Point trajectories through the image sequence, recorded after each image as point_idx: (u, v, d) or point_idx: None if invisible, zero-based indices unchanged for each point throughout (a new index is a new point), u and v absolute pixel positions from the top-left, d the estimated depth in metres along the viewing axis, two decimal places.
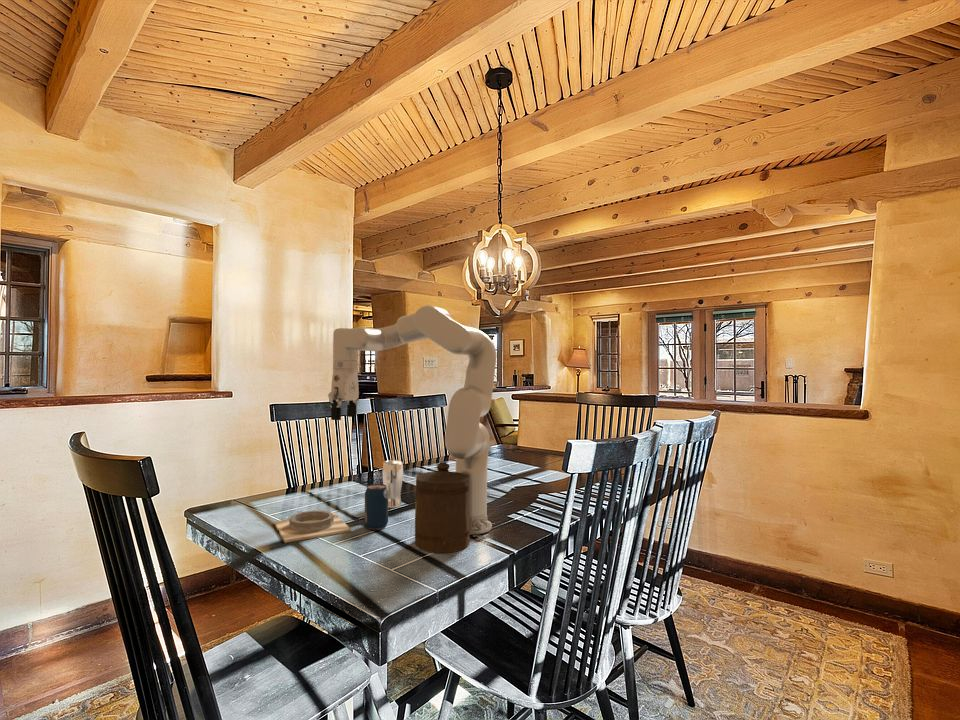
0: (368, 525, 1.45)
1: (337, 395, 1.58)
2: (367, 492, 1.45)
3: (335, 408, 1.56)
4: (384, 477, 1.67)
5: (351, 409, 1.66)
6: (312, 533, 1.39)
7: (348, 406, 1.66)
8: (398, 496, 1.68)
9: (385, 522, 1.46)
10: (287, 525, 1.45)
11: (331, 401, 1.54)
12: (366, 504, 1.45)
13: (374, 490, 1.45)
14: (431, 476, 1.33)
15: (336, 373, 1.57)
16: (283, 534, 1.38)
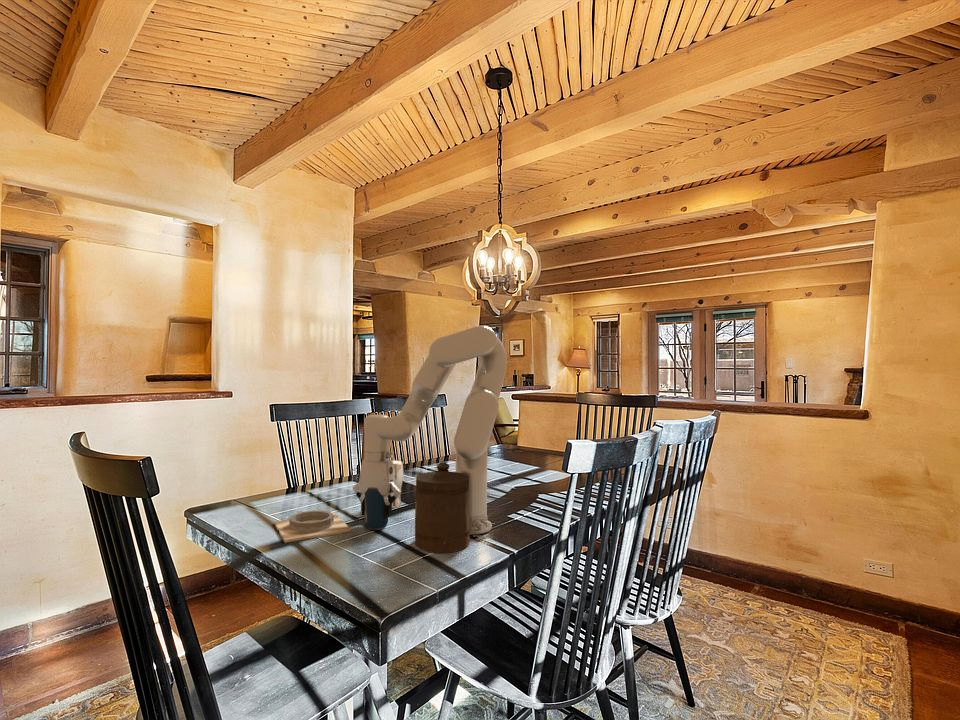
0: (368, 525, 1.45)
1: None
2: (367, 492, 1.45)
3: (390, 505, 1.46)
4: None
5: None
6: (312, 533, 1.39)
7: (364, 503, 1.48)
8: (398, 496, 1.68)
9: (385, 522, 1.46)
10: (287, 525, 1.45)
11: (396, 498, 1.46)
12: (366, 504, 1.45)
13: (374, 490, 1.45)
14: (431, 476, 1.33)
15: (389, 465, 1.46)
16: (283, 534, 1.38)
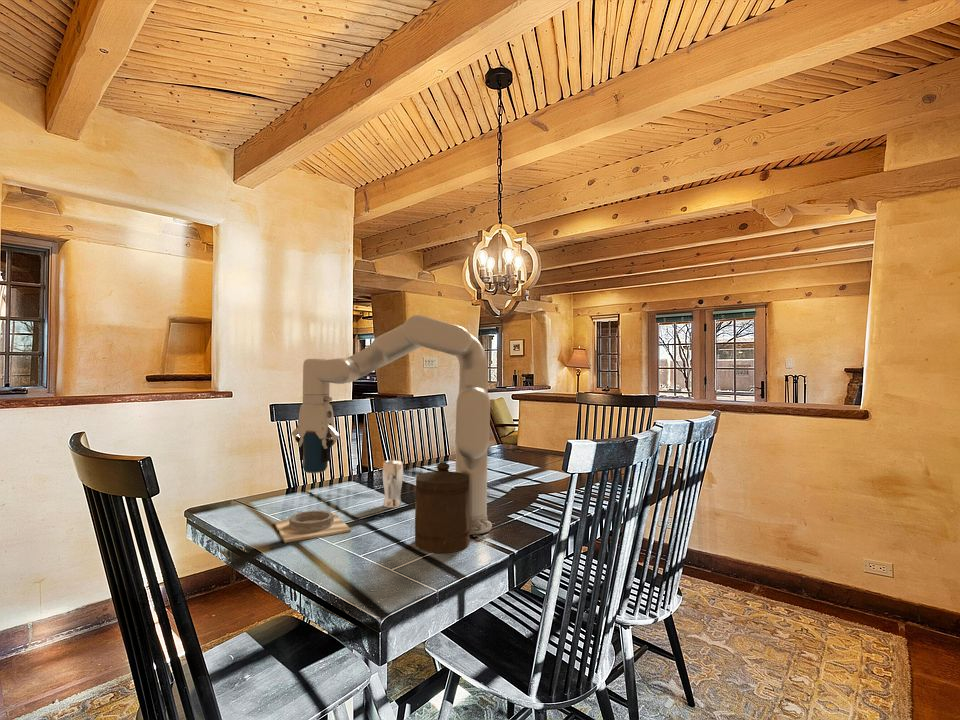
0: (306, 468, 1.43)
1: None
2: (305, 435, 1.44)
3: (329, 449, 1.45)
4: (384, 477, 1.67)
5: None
6: (312, 533, 1.39)
7: None
8: (398, 496, 1.68)
9: (323, 466, 1.44)
10: (287, 525, 1.45)
11: (334, 441, 1.44)
12: (304, 447, 1.44)
13: (312, 433, 1.43)
14: (431, 476, 1.33)
15: (328, 408, 1.44)
16: (283, 534, 1.38)
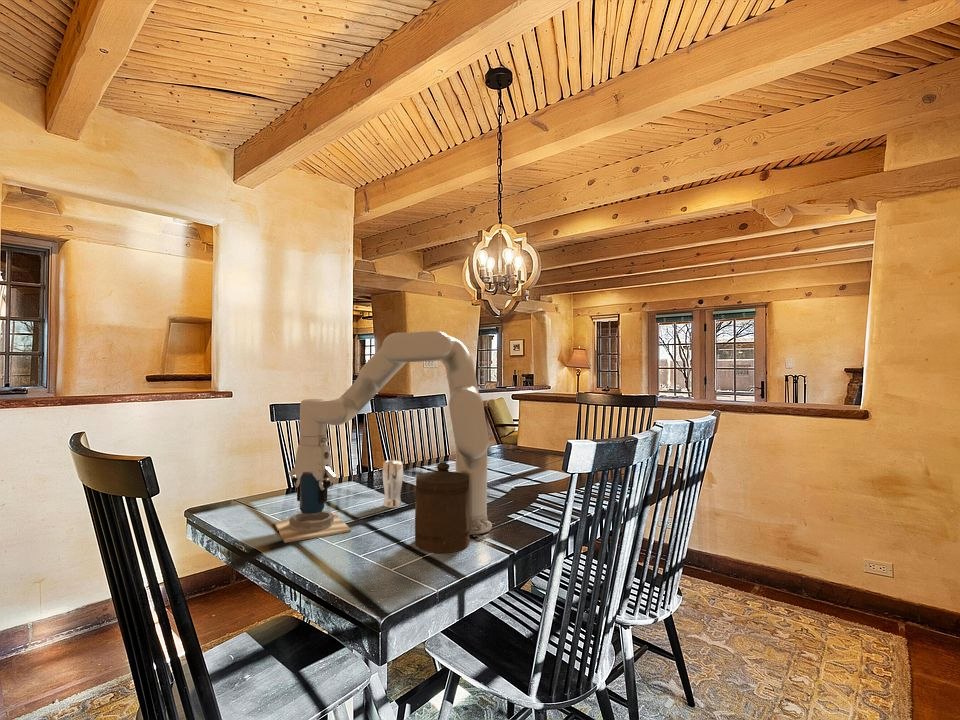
0: (302, 510, 1.43)
1: None
2: (302, 477, 1.44)
3: (326, 490, 1.45)
4: (384, 477, 1.67)
5: None
6: (312, 533, 1.39)
7: None
8: (398, 496, 1.68)
9: (320, 507, 1.44)
10: (287, 525, 1.45)
11: (331, 483, 1.44)
12: (301, 489, 1.43)
13: (309, 475, 1.43)
14: (431, 476, 1.33)
15: (325, 450, 1.44)
16: (283, 534, 1.38)
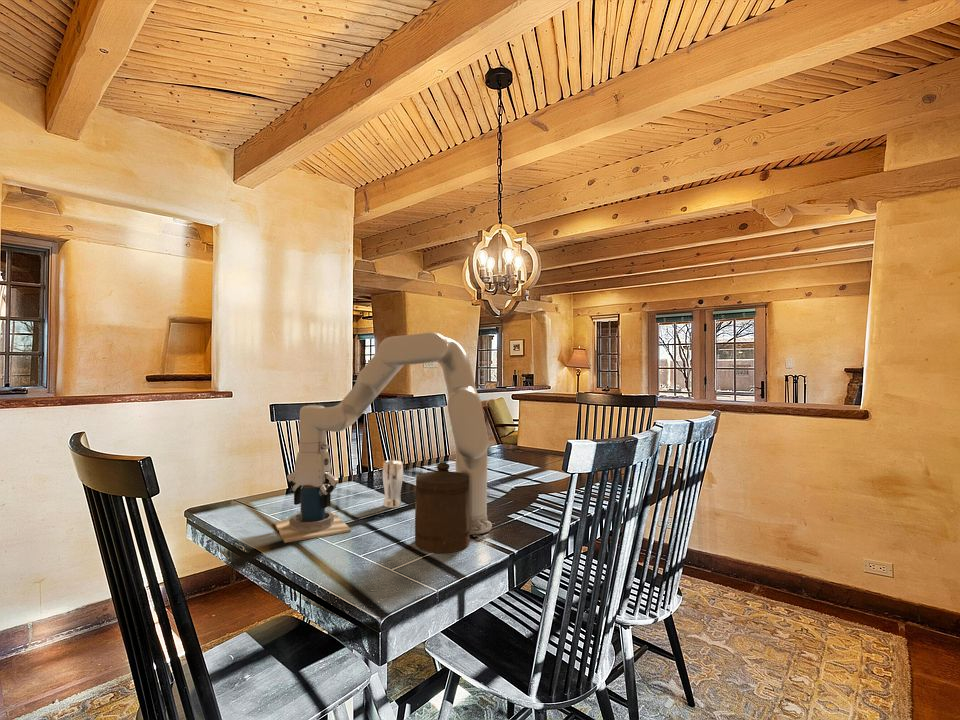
0: None
1: None
2: (302, 490, 1.44)
3: (329, 494, 1.44)
4: (384, 477, 1.67)
5: (299, 495, 1.47)
6: (312, 533, 1.39)
7: (297, 493, 1.46)
8: (398, 496, 1.68)
9: None
10: (287, 525, 1.45)
11: (334, 487, 1.43)
12: (301, 502, 1.43)
13: (309, 488, 1.43)
14: (431, 476, 1.33)
15: (325, 456, 1.44)
16: (283, 534, 1.38)
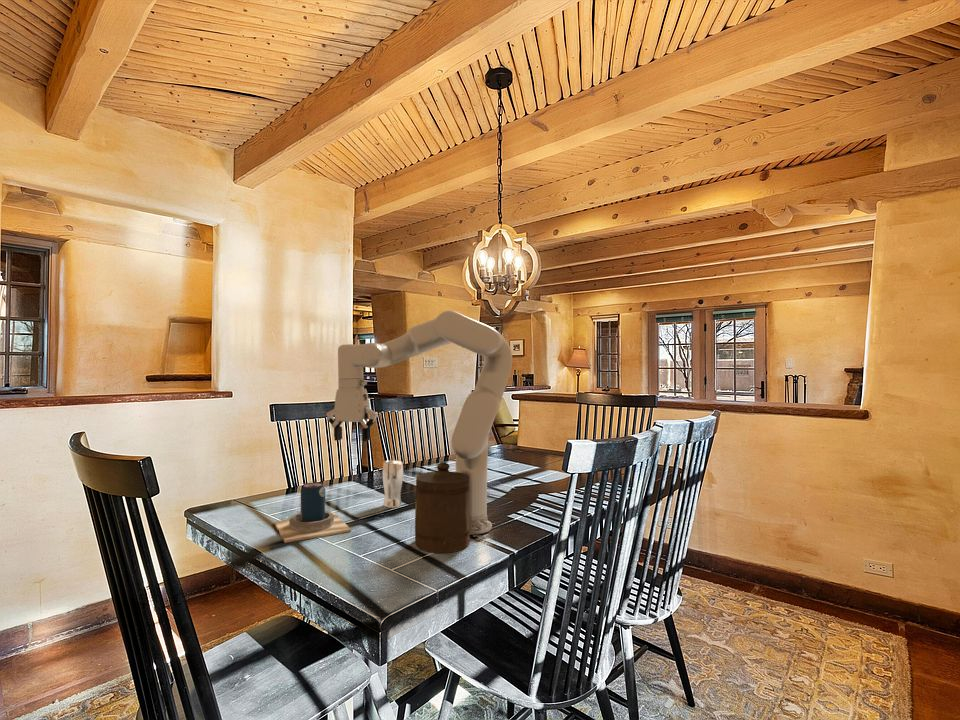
0: None
1: None
2: (302, 490, 1.44)
3: (369, 428, 1.50)
4: (384, 477, 1.67)
5: (339, 431, 1.53)
6: (312, 533, 1.39)
7: (337, 429, 1.52)
8: (398, 496, 1.68)
9: None
10: (287, 525, 1.45)
11: (374, 420, 1.49)
12: (301, 502, 1.43)
13: (309, 488, 1.43)
14: (431, 476, 1.33)
15: (363, 392, 1.50)
16: (283, 534, 1.38)
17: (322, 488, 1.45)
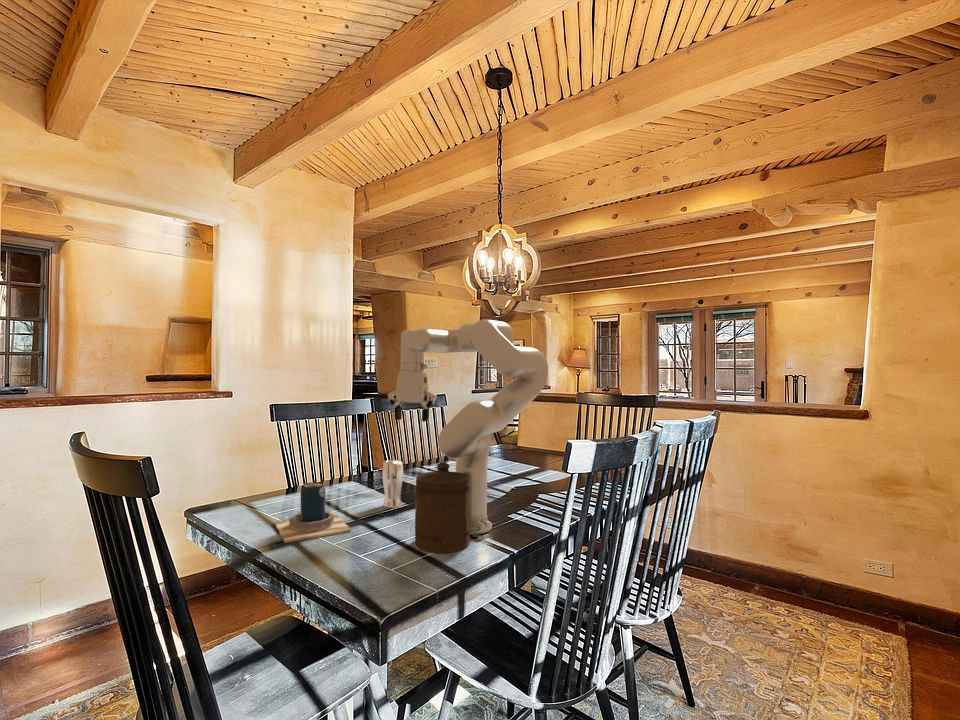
0: None
1: None
2: (302, 490, 1.44)
3: (428, 409, 1.59)
4: (384, 477, 1.67)
5: (399, 412, 1.63)
6: (312, 533, 1.39)
7: (397, 409, 1.62)
8: (398, 496, 1.68)
9: None
10: (287, 525, 1.45)
11: (433, 402, 1.59)
12: (301, 502, 1.43)
13: (309, 488, 1.43)
14: (431, 476, 1.33)
15: (424, 375, 1.59)
16: (283, 534, 1.38)
17: (322, 488, 1.45)
